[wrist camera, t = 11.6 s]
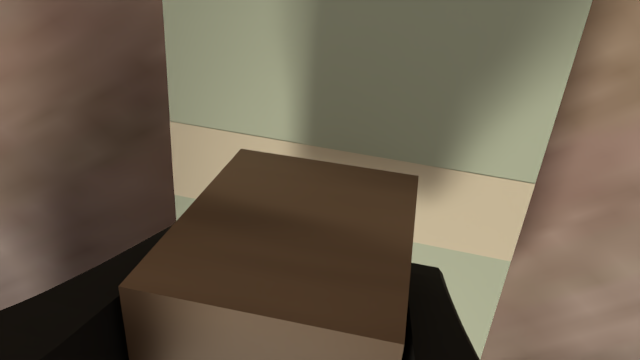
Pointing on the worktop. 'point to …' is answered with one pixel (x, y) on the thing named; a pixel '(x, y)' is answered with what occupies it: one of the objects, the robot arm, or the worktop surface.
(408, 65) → the lid
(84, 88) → the worktop surface
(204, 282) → the walnut block
